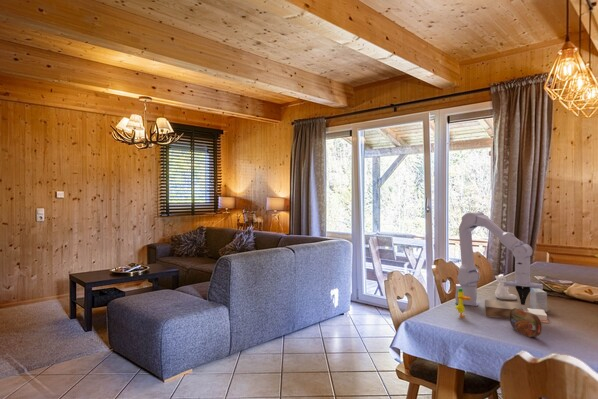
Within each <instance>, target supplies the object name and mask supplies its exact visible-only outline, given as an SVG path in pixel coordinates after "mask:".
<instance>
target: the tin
mask: <svg viewBox="0 0 598 399" xmlns="http://www.w3.org/2000/svg"><path fill="white" fill-rule="evenodd" d="M509 317H510V318H509V323H510V326H511V327H512V328H513V330H515V331H517V332H518V333H520V334H522V335H524V336H526V337H529V338H537V337H539V336H540V335H541V334H542V323H541V321H540V319H539V318H538V316H537V315H535V314H533V313H530V312H528V311H527V310H525V309H524V308H522V309H517V308H514V309H512V310H511V312H510V316H509Z"/></svg>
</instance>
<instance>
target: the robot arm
mask: <svg viewBox="0 0 598 399" xmlns="http://www.w3.org/2000/svg"><path fill="white" fill-rule="evenodd" d="M478 227H483V228H485V229H487V230H488V231H489V232H490V233H492V234H494V235H495V236H496V237H498V239H499V242H500V243H501V244H502V245H503V246H504V247H505V248H507V249H508V250H509V251H510V252H511V254H512V256H513V257H514V280H513V281H512V280H511V281H510V280H506V281H503V285H504V286H508V287H513V288H515V289H516V291H517V295H518V297H519V300H520V302H519V303H520V304H521V306H525V305H526V301H527V298H528V295H530V288H536V289H541V290H543V289H544V284H542V283H538V282H537V283H536V282H531V257H532V255H533V253H534V251H533V248H532V246H531V245H530V244H529V243H528V244H527V243H525V242H524V241H523V240H520V239H518V238H517V237H516V236H515V234H514V232H510V231H507V232H505V231H504V230H503V229H502V228H501V227H499V225H497V224H496V223H495V222H494V221H493V220H492V219H490V218H489V216H488V215H486V214H485V213H484V212H481V211H475V212H471V211H470V212H469V211H468V212H466V213H464V215H462V216H461V222H460V224H459V227H458V233H459V248H460V249H459V250H460V259H461V260H460V261H461V264H460V267H459V268H458V274H457V276H456V277H457V278H456V279H457V282H458V283H456V284H455V295H454V297H455V305H458V304H459V300H458V298H457V297H458V291H459V288H462V291H463V296H467V297H470V298H471V299H470V300H463V306H465V305H466V306H474V307H477V306H478V298H477V297H478V292H477V290H478V288H477V287H478V286H477V285H478V282H479V280H480V274H479V272H478V268H477V266H476V265H475V264H474V263H475V262H474V250H473V237H472V235H473V234H472V232H473V231H474V229H476V228H478Z"/></svg>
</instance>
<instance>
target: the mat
mask: <svg viewBox="0 0 598 399" xmlns="http://www.w3.org/2000/svg"><path fill="white" fill-rule="evenodd" d="M540 321H541V324H549V323H550V322H549V320H548V319H547V320H540Z"/></svg>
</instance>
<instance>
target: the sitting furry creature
mask: <svg viewBox="0 0 598 399" xmlns="http://www.w3.org/2000/svg"><path fill="white" fill-rule="evenodd" d="M495 279H496V281H497V282H498V284H497V285H496V289H495V292H494V296H495V297H496V298H497V299H499V300H508V301H509V300H511V301H512V300H513V301H516V300H517V299H518V296H517V295H515V294H514V293H513V294H512V293H510V292H509V289H510V287H509V286H504V285H503V281H507V279H506V276H505V275H504V274H501V273H500V274H498V275H495Z"/></svg>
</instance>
